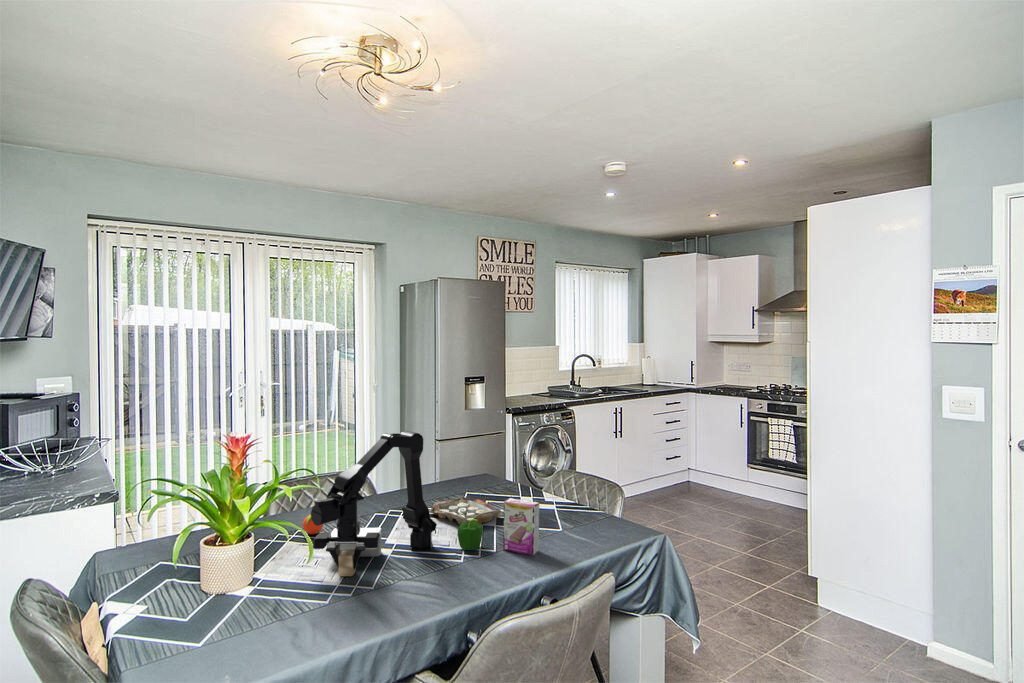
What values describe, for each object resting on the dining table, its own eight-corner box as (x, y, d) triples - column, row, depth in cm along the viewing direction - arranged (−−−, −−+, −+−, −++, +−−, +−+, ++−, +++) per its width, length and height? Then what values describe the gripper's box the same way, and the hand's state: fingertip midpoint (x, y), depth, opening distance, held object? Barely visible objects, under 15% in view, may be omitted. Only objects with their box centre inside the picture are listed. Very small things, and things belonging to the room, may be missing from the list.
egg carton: (417, 516, 223) (417, 502, 223) (458, 502, 239) (458, 490, 239) (470, 534, 203) (470, 519, 203) (511, 518, 219) (510, 504, 219)
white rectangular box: (381, 551, 186) (381, 527, 186) (376, 563, 177) (376, 537, 177) (334, 552, 185) (334, 528, 185) (327, 564, 176) (327, 538, 176)
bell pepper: (452, 548, 190) (452, 518, 189) (470, 541, 196) (470, 512, 195) (469, 555, 184) (469, 524, 184) (487, 548, 190) (487, 518, 190)
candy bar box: (502, 550, 188) (502, 501, 187) (508, 545, 192) (509, 497, 192) (533, 556, 183) (534, 506, 183) (539, 551, 188) (539, 502, 187)
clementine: (315, 539, 197) (315, 518, 196) (297, 537, 198) (297, 517, 198) (327, 530, 204) (327, 511, 204) (309, 529, 206) (309, 510, 206)
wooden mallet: (364, 555, 181) (364, 537, 181) (352, 576, 166) (352, 555, 166) (352, 555, 181) (352, 537, 181) (338, 576, 166) (338, 555, 166)
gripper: (383, 508, 177) (383, 557, 177) (322, 508, 175) (322, 558, 176) (377, 520, 165) (377, 572, 166) (312, 520, 164) (312, 574, 165)
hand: (347, 569), depth 168 cm, fingers closed on wooden mallet, 4 cm apart
